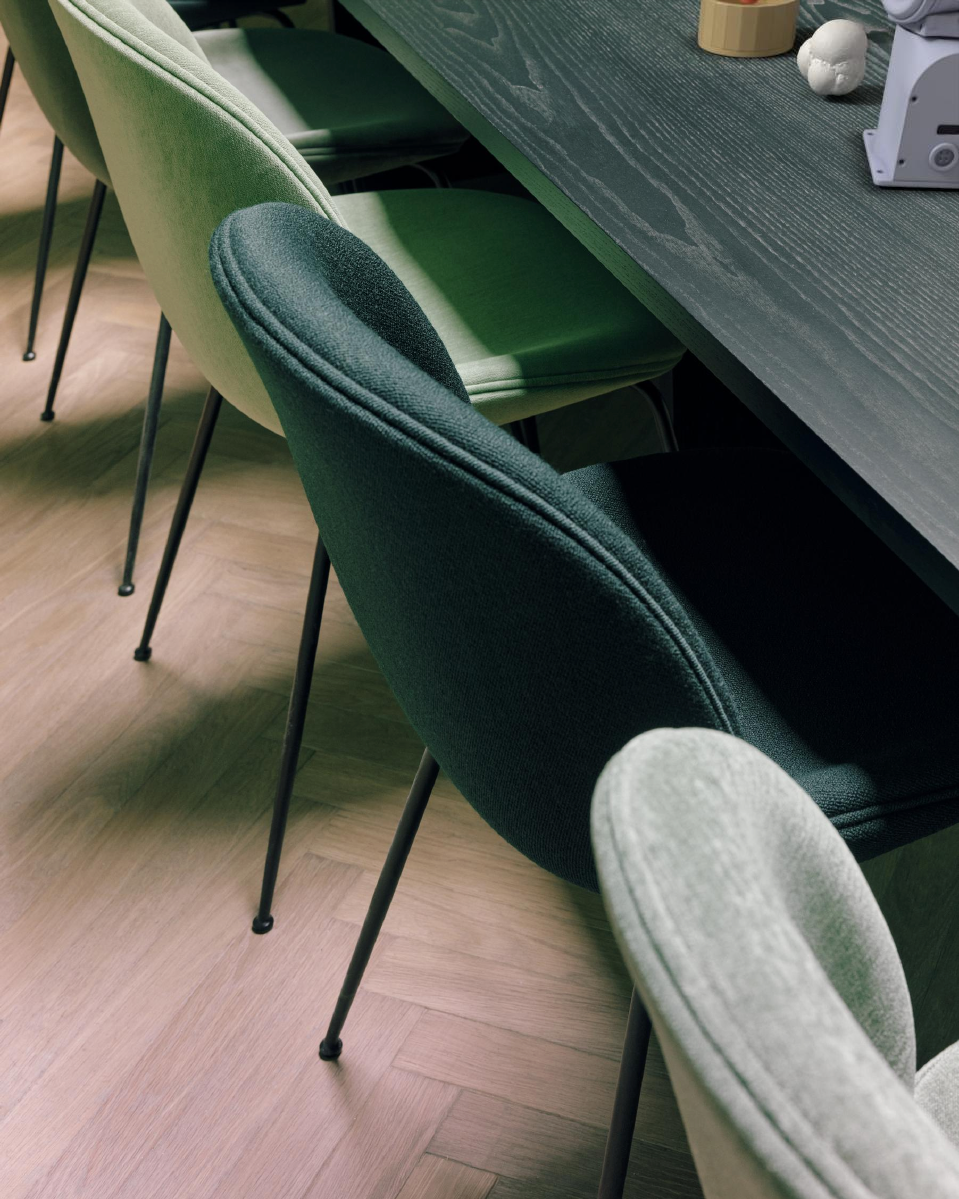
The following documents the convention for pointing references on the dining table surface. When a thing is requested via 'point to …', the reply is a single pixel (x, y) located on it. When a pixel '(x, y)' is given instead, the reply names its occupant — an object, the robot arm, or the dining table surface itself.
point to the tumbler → (747, 27)
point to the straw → (749, 1)
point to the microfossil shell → (834, 58)
